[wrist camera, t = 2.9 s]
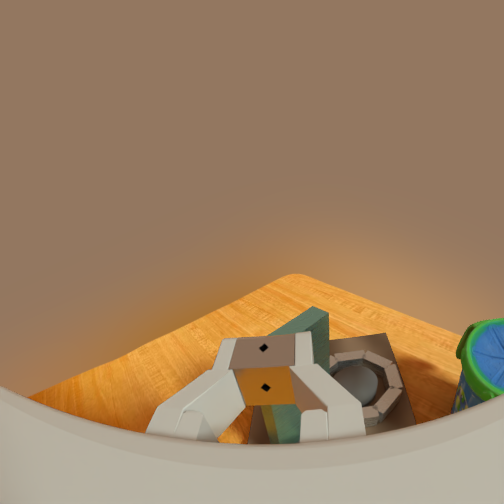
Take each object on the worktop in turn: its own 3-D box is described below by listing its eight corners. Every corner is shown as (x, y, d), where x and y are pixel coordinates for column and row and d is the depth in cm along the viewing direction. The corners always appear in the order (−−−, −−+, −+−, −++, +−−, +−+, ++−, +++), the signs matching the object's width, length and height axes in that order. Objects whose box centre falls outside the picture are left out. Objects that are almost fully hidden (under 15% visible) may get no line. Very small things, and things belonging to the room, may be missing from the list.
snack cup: (531, 459, 10) (584, 394, 7) (448, 495, 13) (499, 441, 9) (491, 365, 24) (515, 297, 21) (423, 380, 27) (440, 311, 23)
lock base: (243, 479, 21) (236, 468, 19) (265, 350, 39) (261, 334, 38) (422, 461, 17) (430, 447, 16) (384, 338, 36) (386, 321, 35)
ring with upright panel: (272, 461, 21) (243, 360, 16) (281, 367, 33) (264, 265, 28) (412, 444, 19) (456, 332, 14) (387, 356, 31) (396, 250, 26)
